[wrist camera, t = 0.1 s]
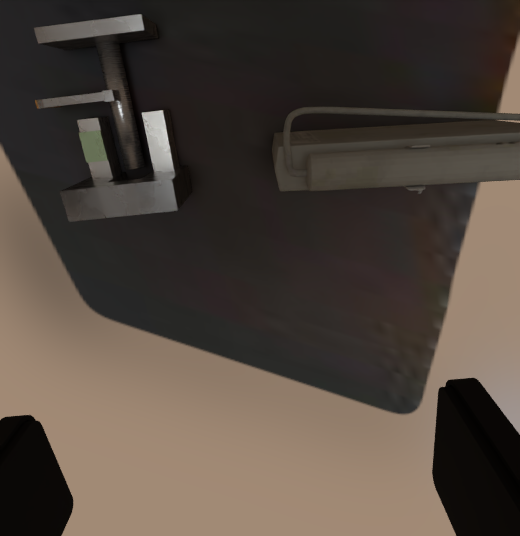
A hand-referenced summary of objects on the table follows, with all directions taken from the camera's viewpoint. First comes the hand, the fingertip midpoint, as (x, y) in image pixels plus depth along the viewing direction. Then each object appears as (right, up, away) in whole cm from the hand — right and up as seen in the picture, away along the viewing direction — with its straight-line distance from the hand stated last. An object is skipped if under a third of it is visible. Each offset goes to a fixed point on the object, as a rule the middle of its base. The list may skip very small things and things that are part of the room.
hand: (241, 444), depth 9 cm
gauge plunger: (-12, +19, +26) cm, 34 cm away
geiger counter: (+14, +16, +27) cm, 35 cm away
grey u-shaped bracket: (-11, +14, +28) cm, 33 cm away
